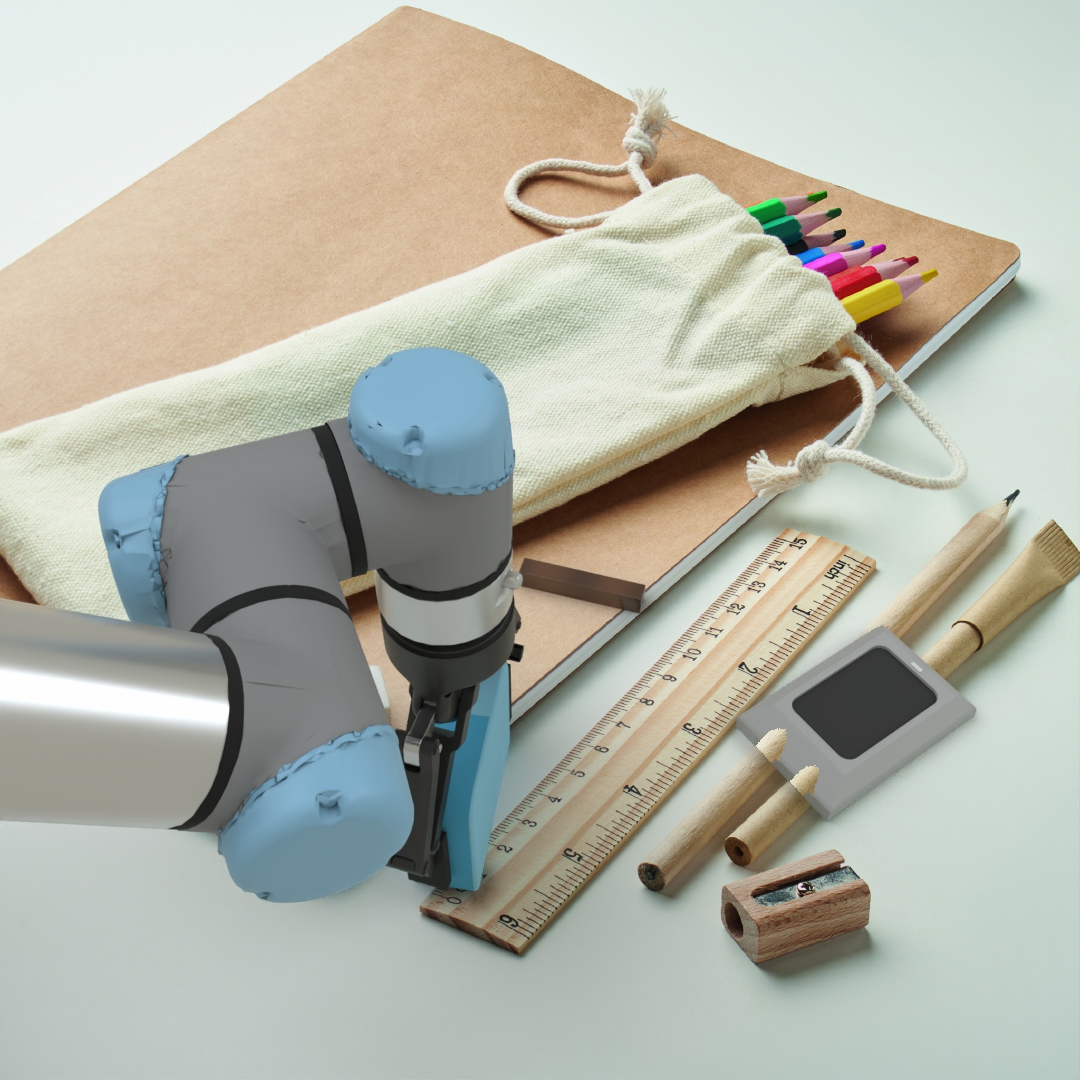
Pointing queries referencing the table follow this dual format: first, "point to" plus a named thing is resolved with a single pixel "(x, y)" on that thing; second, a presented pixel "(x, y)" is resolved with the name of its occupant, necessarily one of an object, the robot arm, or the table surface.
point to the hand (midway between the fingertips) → (462, 794)
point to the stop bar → (582, 585)
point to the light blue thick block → (477, 781)
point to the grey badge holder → (858, 718)
